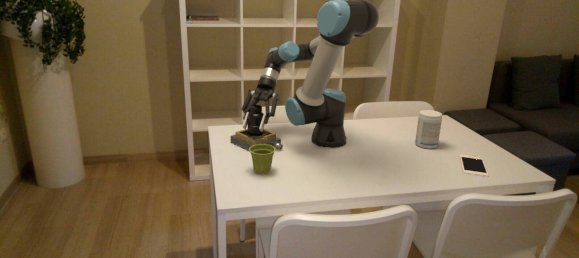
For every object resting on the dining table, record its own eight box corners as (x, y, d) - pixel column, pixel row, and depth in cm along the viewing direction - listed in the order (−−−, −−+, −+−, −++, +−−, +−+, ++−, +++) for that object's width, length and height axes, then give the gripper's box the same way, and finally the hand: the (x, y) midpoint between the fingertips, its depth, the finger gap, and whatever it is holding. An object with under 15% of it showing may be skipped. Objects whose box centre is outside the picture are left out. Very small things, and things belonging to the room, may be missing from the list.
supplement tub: (442, 146, 188) (447, 114, 183) (427, 151, 183) (432, 117, 178) (424, 139, 195) (429, 108, 190) (409, 143, 190) (414, 111, 185)
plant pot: (265, 178, 153) (265, 156, 150) (243, 171, 157) (243, 149, 154) (279, 169, 160) (280, 147, 157) (259, 163, 165) (259, 141, 162)
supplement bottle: (251, 137, 177) (251, 109, 173) (245, 132, 183) (244, 105, 178) (266, 135, 180) (267, 107, 176) (260, 130, 186) (260, 103, 181)
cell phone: (482, 159, 178) (482, 157, 177) (488, 177, 161) (488, 175, 161) (459, 156, 180) (459, 153, 179) (463, 174, 163) (463, 171, 163)
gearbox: (287, 148, 180) (288, 137, 178) (262, 157, 170) (262, 145, 168) (255, 134, 193) (255, 124, 191) (230, 142, 183) (230, 131, 182)
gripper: (291, 88, 186) (277, 136, 177) (249, 83, 192) (233, 129, 183) (287, 78, 180) (272, 128, 171) (244, 73, 185) (227, 121, 176)
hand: (252, 128), depth 177 cm, fingers closed on supplement bottle, 7 cm apart
